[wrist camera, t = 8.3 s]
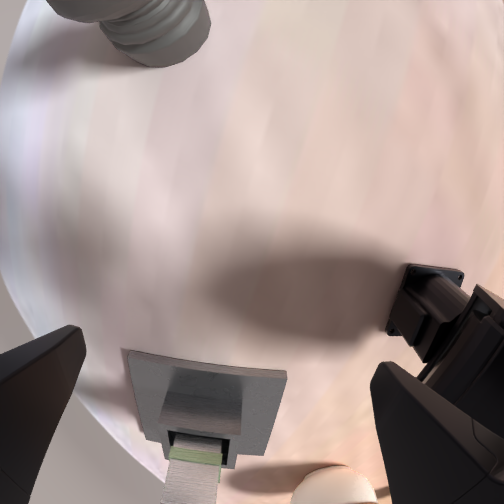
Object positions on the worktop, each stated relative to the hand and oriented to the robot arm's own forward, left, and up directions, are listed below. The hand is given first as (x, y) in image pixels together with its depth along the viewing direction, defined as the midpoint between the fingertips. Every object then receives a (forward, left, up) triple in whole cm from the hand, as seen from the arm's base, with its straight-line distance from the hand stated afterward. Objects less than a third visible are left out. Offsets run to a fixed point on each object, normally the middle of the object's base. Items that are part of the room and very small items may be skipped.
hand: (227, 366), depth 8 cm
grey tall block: (+2, +19, -8) cm, 21 cm away
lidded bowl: (-16, +35, -13) cm, 41 cm away
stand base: (+2, +19, -13) cm, 23 cm away
